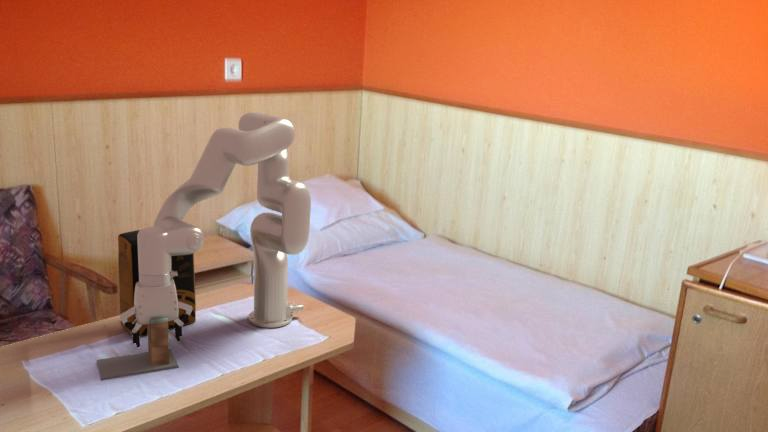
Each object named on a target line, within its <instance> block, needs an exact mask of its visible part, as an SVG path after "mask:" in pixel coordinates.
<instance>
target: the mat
mask: <svg viewBox="0 0 768 432" xmlns="http://www.w3.org/2000/svg"><path fill="white" fill-rule="evenodd" d="M96 363H97V369H98V373H99V377H100V381H105V380H112V379H118V378H122V377H130V376H135V375H142V374H148V373H154V372H155V373H156V372H159V371H166V370H173V369H177V368H179V365H180V364H179V363H178V361H177V359H176V356H175V354H174V352H173V349H172V348H171V347H169V364H166V365H160V366H152V363H151V360H150V358H149V355H148V351H146V352H140V353H139V352H138V353H132V354H126V355H125V354H124V355H118V356H114V357H106V358H105V357H104V358H101V359H96Z"/></svg>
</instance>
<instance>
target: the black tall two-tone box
mask: <svg viewBox="0 0 768 432" xmlns="http://www.w3.org/2000/svg"><path fill="white" fill-rule="evenodd" d="M140 230H141V229H136V230H131V231H126V232H123V233H120V234H118V236H117V242H118V249H117V250H118V251H117V252H118V255H117V256H118V260H117V263H118V283H119V284H118V285H119V287H118V288H119V316H120V315H121V314H122V313H124V312H126V311H127V310H129V309H131V308H132V307H134V294H135V286H136V283H137V282H139V265H138V243H137V235H138V232H139V231H140ZM171 270H172V271H177V273H178V276H175V277H173V278H172V279H173V280H174V283H175V287H176V292H177V299H178V301H179V302H182V303H185V304H188V305H191V306H192V308H193V310H192V312H191V314H190V315H189V318H188V319H187V320H186V321H185V323H184V325H183V326H182V327H184V326H188V325H191V324H194V323H196V318H197V315H196V313H197V312H196V311H197V309H196V305H197V304H196V302H197V301H196V280H195V279H196V278H195V253H193V254H189V255H177V256H171ZM178 309H179V317H181V315H182V314H183V313H184V312H185V310H184V309H181V308H178ZM127 320H128V321H129V322H131V323H133V322H134V321H135V320H136V318H135V316H134V314H133V315H132V316H130V317H128V318H127ZM120 325H121V326H122V328H123V329H124V330H125V331H126V332H128V334H130V335H131V336H132V331H131V330H129V329H128V328H126V327H125V325H124V324H123V322H122V321H121V320H120ZM173 329H175V322H174V321H168V331H169V330H173ZM139 333H140V337H144V336H148V334H147V324H146V325H142V326H141V327H140V328H139Z"/></svg>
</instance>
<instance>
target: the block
mask: <svg viewBox="0 0 768 432" xmlns="http://www.w3.org/2000/svg"><path fill="white" fill-rule="evenodd" d="M147 334H148V335H147V352H148V355H149V358H150V360H151V363H152V366H160V365H166V364H169V349H170V343H169V342H170V341H169V339H170V338H169V336H170V335H169V330H168V318H167V317H164V318H157V319H150V324H147Z"/></svg>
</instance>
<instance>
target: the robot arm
mask: <svg viewBox="0 0 768 432" xmlns="http://www.w3.org/2000/svg"><path fill="white" fill-rule="evenodd" d="M295 130H296V129H295V127H294V125H293V123H292V122H291V121H290V120H289V119H287V118H284V117H282V116H281V117H280V116H276V115H270V114H266V113H261V112H246V113H244V114H243V115H241V116H240V119H239V120H238V129H236V128H232V127H231V128H230V127H221V128H220V127H219V128H218V129H216V130H215V131H214V132H213V133H212V134H211V136H210V138H209V140H208V142H207V143H206V146H205V148H204V150H203V152H202V154H201V156H200V158H199V160H198V162H197V163H196V166H195V168H194V170H193V173H192V174H191V176H190V178H189V179H188V180H186V181H185V182H184V183H182V184H181V185H180V186H178V188H176V189H175V190H174V191H173V192H172V193H170V195H169V196H168V197H167V198H166V199H165V201H164V202H163V204H162V206H161V207H160V209H159V212H158V213H157V216H156V217H155V220H154V223H153V226H147V227H144V228H141V229H139V230H140V231H139V232H138V235H137V243H138V265H139V282H137V283H136V286H135V294H134V307H132V308H131V309H129V310H127V311H126V312H124V313H122V314H121V315H120V314H119V320H120V322H121V321H122V322H123V324H124V325H125V327H126V328H128V329H129V330H131V331H132V335H131V336H132V344H135V345H136V348H140V347H141V336H140V333H139V328H140V327H141V326H142V325H146V324H150V319H157V318H164V317H167V318H168V321H174V322H175V328H174V338H175V340H176V341H177V342H181V337H183V327H184V326H185V325H184V323H185V321H186V320H187V319H188V318H189V315H190V314H191V312H192V310H193V308H192V306H191V305H188V304H185V303H182V302H179V301H178V299H177V292H176V287H175V283H174V280H173V279H172V278H173V277H175V276H178V273H177V271H172V270H171V256H177V255H189V254H193V253H194V254H195V253H197V252H198V251H199V250H201V249H202V247H203V246H204V244H205V235H204V233H203V231H202V230H201V229H200V228H199V227H197V226H196V225H194V224H192V223H188V222H187V221H183V220H184V219H185V216H186V215H187V214H188V213H189V211H190V209H191V208H193V207H194V206H195V205H197V204H198V203H200V202H202V201H204V200H208V199H211V198H215V197H217V196H219V195H221V194H222V193H223V192H224V190H225V187H226V185H227V183H228V181H229V178H230V176H231V174H232V173H233V170H234V168H235V167H236V165H239V166H240V165H241V166H243V167H244V166H246V167H248V166H249V167H250V166H253V165H257V181H256V182H257V183H256V185H257V186H256V197H257V202H258V204H259V205H260V206H262V207H263V208H265V209H268V210H271V211H275V212H276V213H274V212H262V213H259V214H257V215H256V216H255V217H254V218H253V219H252V221H251V225H250V240H251V243H252V244H251V245H252V250H253V310H252V311H251V312H249V314H248V316H247V318H248V322H249V323H250V324H251V325H253V326H255V327H259V328H265V329H266V328H267V329H268V328H269V329H273V328H280V327H284V326H286V325H288V324H290V323H291V322H292V320H293V314H294V312H295V313H296V312H303V311H304V305H303V304H301V303H300V304H297V302H291V303H289V302H288V285H289V284H288V277H289V271H288V270H289V259H288V258H289V257H288V255H292V256H296V255H299V254H300V253H303V251H304V250H305V248H306V247H307V245H308V242H309V237H310V224H311V223H310V222H311V209H312V208H311V206H312V205H311V204H312V202H311V201H312V199H311V194H310V190H309V188H308V187H307V186H306V185H305V184H304V183H303V182H301V181H299V180H294V179H291V177H290V157H289V152H288V148H289V147H291V146H292V144H293V143H294V140H295V137H296V131H295ZM278 213H280V214H278ZM178 308H181V309H184V310H185V312H184V313H183V314H182V315H181V317H179V309H178ZM133 314H134V316H135V318H136V320H135V321H134V322H133V323H131V322H129V321H128V320H127V318H128V317H130V316H132V315H133ZM183 325H184V326H183Z"/></svg>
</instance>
